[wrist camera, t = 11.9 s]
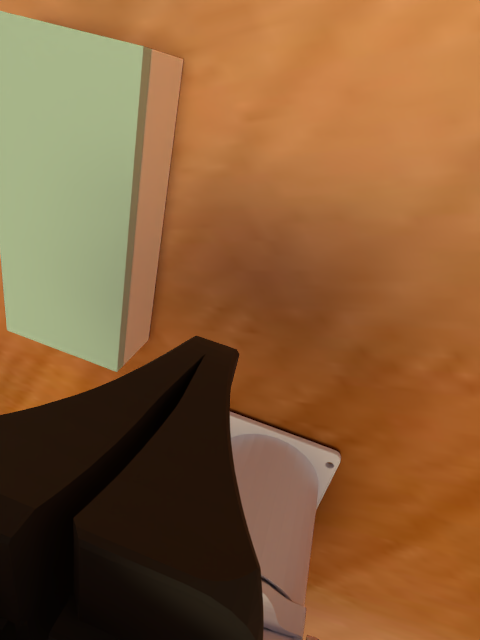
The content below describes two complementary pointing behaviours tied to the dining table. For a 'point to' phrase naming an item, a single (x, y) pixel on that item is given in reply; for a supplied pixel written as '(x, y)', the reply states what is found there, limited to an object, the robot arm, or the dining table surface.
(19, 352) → the dining table surface
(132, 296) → the cream piece
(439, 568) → the dining table surface
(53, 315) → the panel
